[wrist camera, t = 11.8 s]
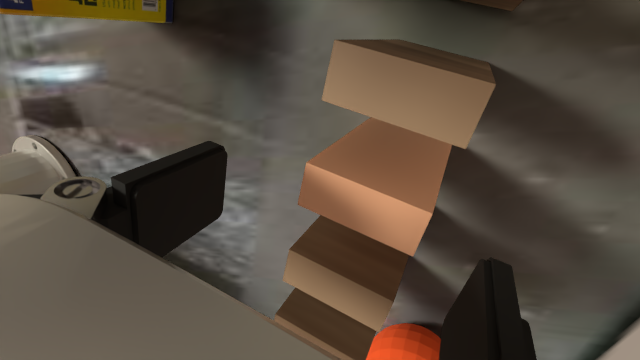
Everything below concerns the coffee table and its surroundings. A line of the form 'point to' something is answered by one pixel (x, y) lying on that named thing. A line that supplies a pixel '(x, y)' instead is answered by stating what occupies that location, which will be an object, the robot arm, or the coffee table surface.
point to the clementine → (405, 343)
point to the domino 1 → (410, 86)
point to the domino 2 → (378, 182)
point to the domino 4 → (325, 326)
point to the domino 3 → (346, 271)
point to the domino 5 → (497, 3)
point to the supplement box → (93, 9)
